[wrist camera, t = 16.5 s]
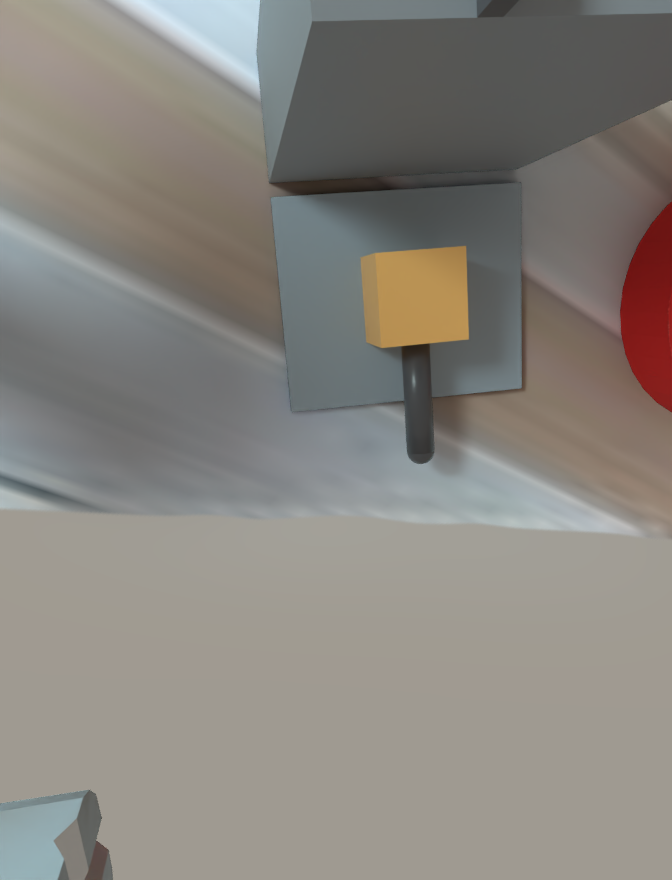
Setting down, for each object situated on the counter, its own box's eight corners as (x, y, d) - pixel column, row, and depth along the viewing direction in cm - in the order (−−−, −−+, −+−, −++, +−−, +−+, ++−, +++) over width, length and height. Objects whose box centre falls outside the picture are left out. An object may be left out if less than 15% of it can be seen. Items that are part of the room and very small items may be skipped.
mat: (291, 410, 46) (291, 412, 45) (270, 198, 42) (271, 197, 42) (518, 387, 48) (521, 388, 48) (517, 183, 45) (521, 182, 44)
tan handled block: (374, 459, 47) (389, 478, 42) (360, 257, 44) (375, 253, 39) (449, 450, 48) (472, 467, 43) (441, 251, 44) (466, 245, 39)
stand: (269, 183, 42) (323, -24, 15) (256, 52, 40) (292, -469, 13) (517, 168, 44) (966, -33, 17) (516, 44, 42) (1023, -410, 15)
